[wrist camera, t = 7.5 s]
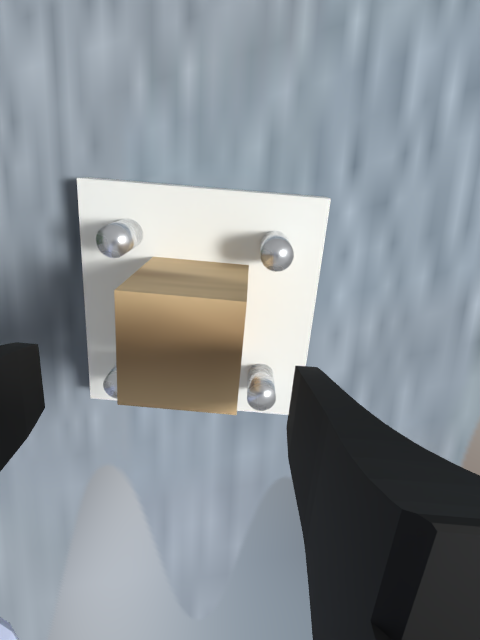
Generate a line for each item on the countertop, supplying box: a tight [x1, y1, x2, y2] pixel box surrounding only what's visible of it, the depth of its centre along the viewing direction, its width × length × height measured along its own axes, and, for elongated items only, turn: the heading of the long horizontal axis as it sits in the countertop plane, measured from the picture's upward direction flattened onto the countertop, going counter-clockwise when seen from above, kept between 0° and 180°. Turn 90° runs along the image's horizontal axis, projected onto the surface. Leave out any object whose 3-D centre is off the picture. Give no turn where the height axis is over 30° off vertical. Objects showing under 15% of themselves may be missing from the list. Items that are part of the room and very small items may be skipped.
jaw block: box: [114, 257, 249, 415], centre depth 15 cm, size 4×4×5 cm
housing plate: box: [77, 177, 331, 415], centre depth 17 cm, size 10×10×3 cm
